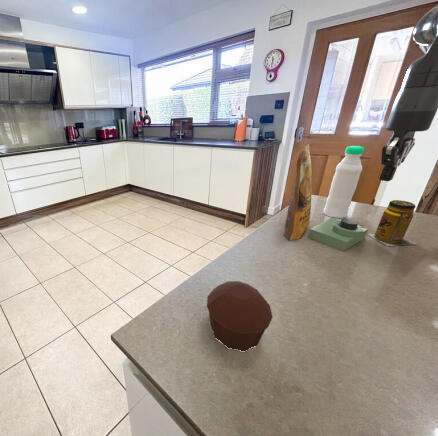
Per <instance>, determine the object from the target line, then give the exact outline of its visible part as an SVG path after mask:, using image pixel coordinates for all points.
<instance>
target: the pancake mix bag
mask: <svg viewBox="0 0 438 436" xmlns="http://www.w3.org/2000/svg"><path fill="white" fill-rule="evenodd" d="M310 145H311V143H310V142H309V143H307V144H306V145H305V146H304V147H303V148H302V149H301V151H299V152H298V153H299V154H298V158H297V162H296V173H295V174H296V175H295V182H294V185H293V189H292V193H291V196H290V199H289V203H288V207H287V213H286V218H285V222H284V223H285V224H284V232H283V237H284V238H285V239H286V240H287V241H289V242H291V241H292V240H297V241H298V240H299V239H301V238H302V236H303V234H304V233H305V231H306V230H307V228H308V227H309V225H310V221H311V214H312V213H311V212H312V185H313V180H312V176H313V171H312V170H313V168H312V160H311V159H312V158H311V153H310Z"/></svg>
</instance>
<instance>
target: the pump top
mask: <svg viewBox="0 0 438 436" xmlns="http://www.w3.org/2000/svg"><path fill="white" fill-rule="evenodd" d="M340 221H341V222H340V225H339V226H340V227H342V228H344V229H349V230H356V228H357V226H358V225H359V221H357V220H355V219H352V218H340Z"/></svg>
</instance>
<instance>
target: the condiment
mask: <svg viewBox="0 0 438 436" xmlns="http://www.w3.org/2000/svg"><path fill="white" fill-rule="evenodd" d="M415 209H416V204H415V203H413V202H411V201H406V200H400V199H394V200H393V199H392V200H390V201H389V202H388V205H387V207H386V208H385V209H384V211H383V212H382V216H381V218H380V220H379V223H378V225H377V228H376V230H375V232H374V233H367V236H369V237H370V238H372V239H374V240H376V241H378V242H379V243H381V244H384V245H385V246H387V247H392V246H393V247H395V246H396V247H397V246H398V247H399V246H411V245H417V243H416V242H413V241H411V240H409V239H407V238H405V235H406V233H407V231H408V229H409V227H410V225H411V222H412V221H413V218H414V215H415V214H414V212H415Z"/></svg>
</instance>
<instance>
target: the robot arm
mask: <svg viewBox="0 0 438 436" xmlns="http://www.w3.org/2000/svg"><path fill="white" fill-rule="evenodd" d="M412 38H413V41H414V42H415V43H416V44H418V45H421V46H429V48H428V49H427V51H426V52H425V53H424V55H422V56H421V57H418V58H417V59H415V60H414V61H413V62H411V64H410V65H409V67H408V68H407V71H406V74H405V76H404V79H403V82H402V84H401V88H400V90H399V92H398V93H397V96H396V98H395V100H394V102H393V104H392V108H391V110H390V114H389V116H388V119H387V121H386V124H385V127H384V130H386V131H389V132H393V134H391V137H390V138H388V139H387V142H386V145H384V146H383V147H382V148H381V160H380V161H381V162H380V164H381V165H382V166H383V169H382V171H381V173H380V176H379V181H383V182H390V181H392V180H393V179H394V177H395V175H396V172H397V169H398V167H400V166H401V165H402V164H403V163H404V162H405V160H406V158H407V157H408V155H409V153H410V152H411V151H412V149H413V147H414V146H415V144H416V142H415V141H416V138H415V135H416V133H417V132H426V131H428V130H430V127H431V126H432V123H433V121H434V118H435V116H436V115H437V112H438V4H437V5H435V6H434V7H433V8H431V9H430V10H429V11H427V12H426V13H425V14H424V15H423V16H422V17H420V19H419V20H418V21H417V23H416V25H415V27H414V29H413V32H412Z"/></svg>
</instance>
